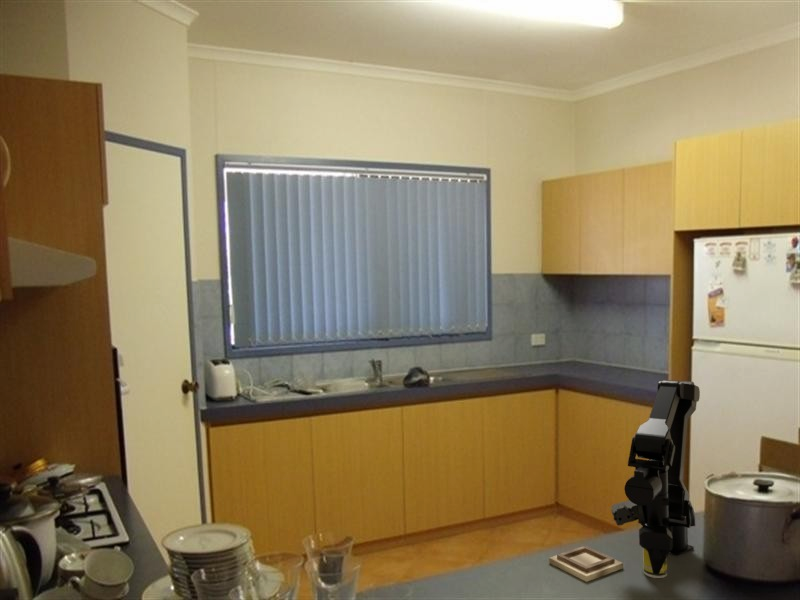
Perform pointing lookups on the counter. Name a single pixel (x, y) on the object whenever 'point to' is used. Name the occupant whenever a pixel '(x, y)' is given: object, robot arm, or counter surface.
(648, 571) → the supplement bottle
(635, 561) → the counter surface
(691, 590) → the counter surface
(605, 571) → the coaster board
